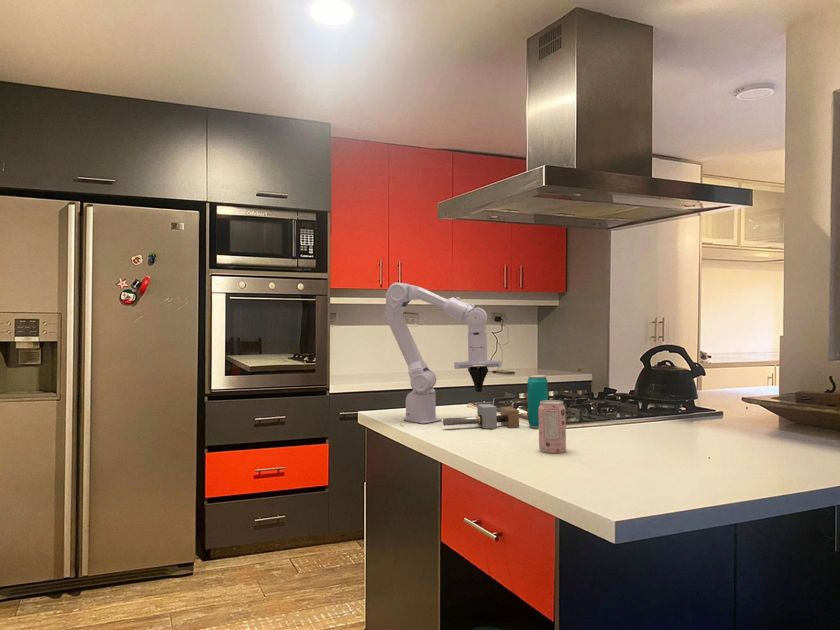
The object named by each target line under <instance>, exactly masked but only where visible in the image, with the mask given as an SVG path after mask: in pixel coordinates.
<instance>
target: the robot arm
mask: <svg viewBox="0 0 840 630" xmlns="http://www.w3.org/2000/svg"><path fill="white" fill-rule="evenodd" d="M417 300H420V301H423V302H426V303H428V304H431V305H433V306H436V307H438V308H441V309H443V311H444V314H445V315H446V316H449V317H451V318H453V319H456V320H458V321H461V322H463V323H465V322H466V323H467V324H468V332H467V342H468V344H467V346H468V347H467V348H468V349H467V350H468V352H467V353H468V356H467V358H468V360H467V361H466V360H465V361H459V362H458V361H454V362H453V366H454V367H453V369H455V370H460V369H467V371H468V373H469V375H470V377H471V380H472V383H473V386H474V390H475V392H476V393H481V392H482V390H483V385H484V382H485V379H486V376H487V374H488V373H489V368H502V366H503V365H502V360H488V336H487V334H488V333H487V324H486V323H487V321H488V314H487V311H485V310H484V309H482V307H475V304H474V303H471V304H470V303H468V302H466V301H463V300H462V299H461V297H458V296H456V298H455V297H450V298H445V297H442V296H440V295H438V294H436V293H434V292H432V291H431V290H428V289H425V288H423V287H421V286H417V285H413V284H410V283H407V282H403V283H402V282H399V281H398V282H397V281H396V282H393V283H392V284H390V285H389V286H388V289H387V291H386V293H385V306H384V307H385V308H384V317H385V319H386V322H387V323H388V325H389V327H390V330H391V332H392V334H393V336H394V338H395V341H396V343H397V345H398V347H399V349H400V352H401V354H402V356H403V358H404V360H405V361H404V362H405V363H406V365H407V367H408V368H407V371H408V376H409V378H410V379H409V380H410V381H409V383H410V387H411V389H412V390H411V392H409V393H408V394H407V395H406V397H405V418H403V421H408V422H411V423H418V424H423V425H424V424H429V423H435V422H441V421H443V418H439V417H436V416H437V415H436V413H437V412H436V411H437V410H436V407H437V405H436V404H437V403H436V389H434V387H435V385H436V383H437V377H436V374H435V373H434V372H433V371H432V370H431V369H430V368H429V366H428V364H427V363H426V362H425V361H424V359H423V357H422V355H421V353H420V351H419V349H418V346H417V344H416V341H415V340H414V338H413V335H412V333H411V332H410V329H409V326H408V325H407V323H406V321H405V318H404V315H403V314H404V312H405V309H406V307H407V306H408V304H409V303H410V302H411V301H417Z"/></svg>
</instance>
